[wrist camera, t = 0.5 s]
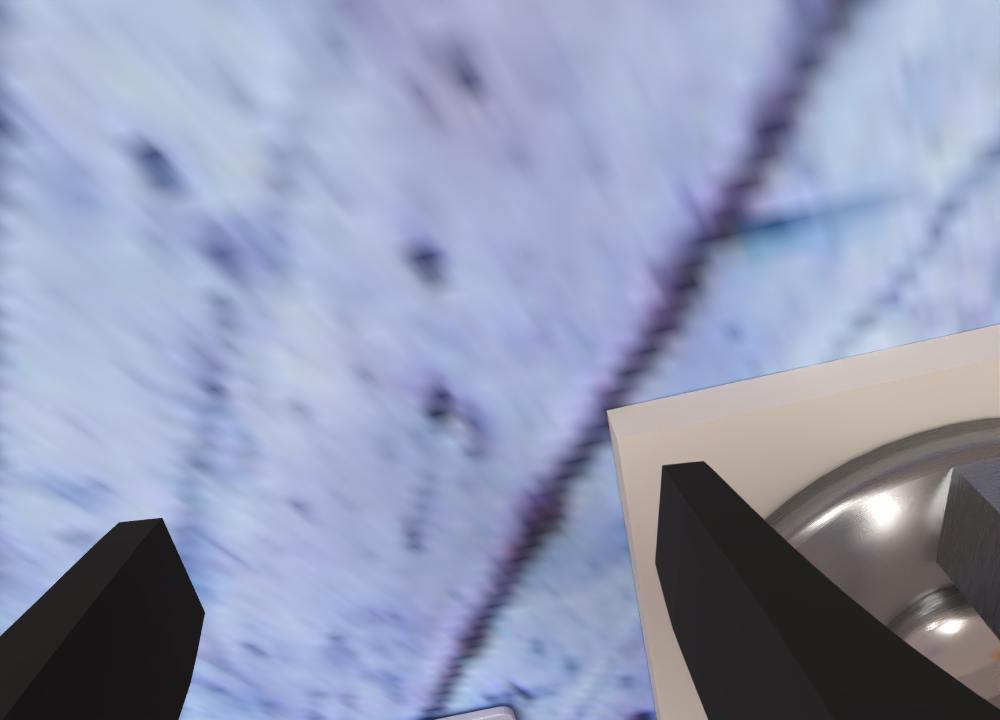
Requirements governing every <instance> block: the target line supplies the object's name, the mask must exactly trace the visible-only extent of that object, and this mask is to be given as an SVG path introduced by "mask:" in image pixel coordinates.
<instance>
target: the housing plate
mask: <svg viewBox="0 0 1000 720" xmlns="http://www.w3.org/2000/svg"><path fill="white" fill-rule="evenodd" d="M607 416H608V422H609V428H610V434H611V440H612V446H613V453H614V459H615V465H616V471H617V477H618V483H619V489H620V496H621V502H622V508H623V514H624V520H625V526H626V533H627V539H628V545H629V551H630V557H631V563H632V570H633V576H634V582H635V588H636V594H637V600H638V607H639V613H640V619H641V625H642V631H643V637H644V643H645V650H646V656H647V662H648V668H649V674H650V680H651V687H652V693H653V699H654V705H655V711H656V717H657V720H708V718H707V716H706V713H705V711H704V708H703V706H702V703H701V701H700V698H699V696H698V693H697V691H696V688H695V685H694V683H693V680H692V678H691V675H690V673H689V670H688V668H687V665H686V662H685V660H684V657H683V655H682V652H681V650H680V647H679V644H678V642H677V639H676V637H675V634H674V631H673V629H672V625H671V621H670V618H669V614H668V611H667V607H666V603H665V600H664V596H663V592H662V588H661V584H660V581H659V577H658V573H657V569H656V565H655V556H656V542H657V528H658V515H659V501H660V488H661V474H662V465H669V464H679V463H688V462H698V461H704V462H705V463H707V464H708V465H709V466H710V467H711V468H712V469H713V470H714V471H715V472H716V473H717V474H718V475H719V476H720V477H721V478H722V479H723V480H724V481H725V482H726V483H727V484H728V485H729V486H730V487H731V488H732V489H733V490H734V491H735V492H736V493H737V494H738V495H739V496H740V497H741V498H743V499H744V500H745V501H746V502H747V503H748V504H749V505H750V506H751V507H752V508H753V509H754V510H755V511H756V512H757V513H758V514H759V515H760V516H761V517H762V518H763V519H764V520H765V519H766V518H767V517H768V516H770V515H771V514H772V513H773V512H774V511H776V510H777V509H778V508H779V507H780V506H782V505H783V504H784V503H785V502H786V501H788V500H789V499H790V498H791V497H793V496H794V495H795V494H797V493H798V492H800V491H801V490H803V489H804V488H806V487H807V486H809V485H810V484H811V483H813V482H814V481H816V480H817V479H819V478H820V477H822V476H824V475H826V474H827V473H829V472H831V471H833V470H835V469H836V468H838V467H840V466H842V465H843V464H845V463H847V462H849V461H851V460H853V459H855V458H857V457H859V456H862V455H864V454H866V453H868V452H870V451H872V450H875V449H877V448H879V447H881V446H883V445H886V444H889V443H892V442H895V441H897V440H900V439H903V438H906V437H909V436H911V435H914V434H917V433H921V432H924V431H928V430H932V429H936V428H940V427H943V426H947V425H951V424H956V423H962V422H968V421H974V420H980V419H987V418H1000V324H998V325H994V326H989V327H985V328H980V329H976V330H971V331H966V332H962V333H957V334H953V335H948V336H944V337H939V338H935V339H930V340H926V341H921V342H916V343H912V344H907V345H903V346H898V347H894V348H889V349H885V350H880V351H875V352H871V353H866V354H862V355H857V356H853V357H848V358H844V359H839V360H835V361H830V362H825V363H821V364H816V365H812V366H807V367H803V368H798V369H794V370H789V371H784V372H780V373H775V374H771V375H766V376H762V377H757V378H753V379H748V380H744V381H739V382H734V383H730V384H725V385H721V386H716V387H712V388H707V389H703V390H698V391H693V392H689V393H684V394H680V395H675V396H671V397H666V398H662V399H657V400H653V401H648V402H643V403H639V404H634V405H630V406H625V407H621V408H616V409H612V410H607Z"/></svg>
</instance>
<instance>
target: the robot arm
mask: <svg viewBox="0 0 1000 720" xmlns="http://www.w3.org/2000/svg"><path fill="white" fill-rule="evenodd" d="M655 565H656V569H657V573H658V577H659V581H660V584H661V588H662V592H663V596H664V600H665V603H666V607H667V611H668V614H669V618H670V621H671V625H672V629H673V631H674V634H675V637H676V639H677V642H678V644H679V647H680V650H681V652H682V655H683V657H684V660H685V662H686V665H687V668H688V670H689V673H690V675H691V678H692V680H693V683H694V685H695V688H696V691H697V693H698V696H699V698H700V701H701V703H702V706H703V708H704V711H705V713H706V716H707V718H708V720H1000V709H999V708H997V707H996V706H994V705H993V704H991V703H990V702H988V701H987V700H985V699H984V698H982V697H981V696H979V695H978V694H976V693H975V692H974V691H972V690H971V689H969V688H968V687H967V686H965V685H964V684H962V683H961V682H960V681H958V680H957V679H956V678H954V677H953V676H951V675H950V674H949V673H947V672H946V671H944V670H943V669H942V668H940V667H939V666H938V665H936V664H935V663H933V662H932V661H931V660H929V659H928V658H926V657H925V656H924V655H922V654H921V653H920V652H918V651H917V650H916V649H914V648H913V647H912V646H910V645H909V644H908V643H907V642H905V641H904V640H903V639H901V638H900V637H899V636H898V635H896V634H895V633H894V632H893V631H891V630H890V629H889V628H887V627H886V626H885V625H884V624H882V623H881V622H880V621H879V620H878V619H876V618H875V617H874V616H873V615H871V614H870V613H869V612H868V611H867V610H865V609H864V608H863V607H862V606H861V605H859V604H858V603H857V602H856V601H854V600H853V599H852V598H851V597H850V596H848V595H847V594H846V593H845V592H844V591H843V590H841V589H840V588H839V587H838V586H837V585H836V584H834V583H833V582H832V581H831V580H830V579H829V578H827V577H826V576H825V575H824V574H823V573H822V572H821V571H820V570H819V569H817V568H816V567H815V566H814V565H813V564H812V563H811V562H810V561H809V560H807V559H806V558H805V557H804V556H803V555H802V554H801V553H800V552H798V551H797V550H796V549H795V548H794V547H793V546H792V545H791V544H790V543H789V542H787V541H786V540H785V539H784V538H783V537H782V536H781V535H780V534H779V533H778V532H777V531H776V530H775V529H774V528H773V527H771V526H770V525H769V524H768V523H767V522H766V521H765V520H764V519H763V518H762V517H761V516H760V515H759V514H758V513H757V512H756V511H755V510H754V509H753V508H752V507H751V506H750V505H749V504H748V503H747V502H746V501H745V500H744V499H743V498H741V497H740V496H739V495H738V494H737V493H736V492H735V491H734V490H733V489H732V488H731V487H730V486H729V485H728V484H727V483H726V482H725V481H724V480H723V479H722V478H721V477H720V476H719V475H718V474H717V473H716V472H715V471H714V470H713V469H712V468H711V467H710V466H709V465H708V464H707V463H705V462H704V461H698V462H688V463H679V464H669V465H662V474H661V488H660V501H659V515H658V528H657V542H656V556H655ZM204 615H205V612H204V609H203V607H202V605H201V603H200V601H199V598H198V596H197V594H196V592H195V589H194V587H193V585H192V583H191V581H190V578H189V576H188V574H187V572H186V570H185V567H184V565H183V563H182V561H181V558H180V556H179V554H178V552H177V550H176V547H175V545H174V543H173V541H172V539H171V536H170V534H169V532H168V530H167V527H166V525H165V523H164V521H163V519H162V518H157V519H147V520H138V521H128V522H119V523H118V524H117V525H116V526H115V527H114V528H112V529H111V530H110V531H109V532H108V533H107V534H106V535H105V536H104V537H103V538H101V539H100V540H99V541H98V542H97V543H96V544H95V545H94V546H93V547H92V548H91V549H90V550H89V551H88V552H87V553H86V554H85V555H84V556H83V557H82V558H81V559H80V560H79V561H78V562H76V563H75V564H74V565H73V566H72V567H71V568H70V569H69V570H68V571H67V572H66V573H65V574H64V575H63V576H62V577H61V578H60V579H59V580H58V581H57V582H56V583H55V584H54V585H53V586H52V587H51V588H50V589H49V590H48V591H47V592H46V593H45V594H44V595H43V596H42V597H41V598H40V599H39V600H38V601H37V602H36V603H34V604H33V605H32V606H31V607H30V608H29V609H28V610H27V611H26V612H25V613H24V614H23V615H22V616H21V617H20V618H19V619H18V620H17V621H16V622H15V623H14V624H13V625H12V626H11V627H10V628H8V629H7V630H6V631H5V632H4V633H3V634H2V635H1V636H0V720H178V719H179V716H180V713H181V710H182V707H183V704H184V701H185V698H186V695H187V692H188V689H189V686H190V683H191V678H192V674H193V669H194V665H195V660H196V656H197V651H198V646H199V641H200V636H201V630H202V625H203V620H204ZM435 720H516V718H515V715H514V712H513V710H512V709H511V708H509V707H506V706H499V707H494V708H489V709H484V710H479V711H474V712H469V713H464V714H460V715H455V716H450V717H445V718H440V719H435Z"/></svg>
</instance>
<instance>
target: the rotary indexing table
mask: <svg viewBox="0 0 1000 720" xmlns="http://www.w3.org/2000/svg"><path fill="white" fill-rule="evenodd" d="M765 521H766V522H767V523H768V524H769V525H770V526H771V527H773V528H774V529H775V530H776V531H777V532H778V533H779V534H780V535H781V536H782V537H783V538H784V539H785V540H786V541H787V542H789V543H790V544H791V545H792V546H793V547H794V548H795V549H796V550H797V551H798V552H800V553H801V554H802V555H803V556H804V557H805V558H806V559H807V560H809V561H810V562H811V563H812V564H813V565H814V566H815V567H816V568H817V569H819V570H820V571H821V572H822V573H823V574H824V575H825V576H826V577H827V578H829V579H830V580H831V581H832V582H833V583H834V584H836V585H837V586H838V587H839V588H840V589H841V590H843V591H844V592H845V593H846V594H847V595H848V596H850V597H851V598H852V599H853V600H854V601H856V602H857V603H858V604H859V605H861V606H862V607H863V608H864V609H865V610H867V611H868V612H869V613H870V614H871V615H873V616H874V617H875V618H876V619H878V620H879V621H880V622H881V623H882V624H884V625H885V626H886V627H887V628H889V629H890V630H891V631H893V632H894V633H895V634H896V635H898V636H899V637H900V638H901V639H903V640H904V641H905V642H907V643H908V644H909V645H910V646H912V647H913V648H914V649H916V650H917V651H918V652H920V653H921V654H922V655H924V656H925V657H926V658H928V659H929V660H931V661H932V662H933V663H935V664H936V665H938V666H939V667H940V668H942V669H943V670H944V671H946V672H947V673H949V674H950V675H951V676H953V677H954V678H956V679H957V680H958V681H960V682H961V683H962V684H964V685H965V686H967V687H968V688H969V689H971V690H972V691H974V692H975V693H976V694H978V695H979V696H981V697H982V698H984V699H985V700H987V701H988V702H990V703H991V704H993V705H994V706H996V707H997V708H999V709H1000V418H987V419H980V420H974V421H968V422H962V423H956V424H951V425H947V426H943V427H940V428H936V429H932V430H928V431H924V432H921V433H917V434H914V435H911V436H909V437H906V438H903V439H900V440H897V441H895V442H892V443H889V444H886V445H883V446H881V447H879V448H877V449H875V450H872V451H870V452H868V453H866V454H864V455H862V456H859V457H857V458H855V459H853V460H851V461H849V462H847V463H845V464H843V465H842V466H840V467H838V468H836V469H835V470H833V471H831V472H829V473H827V474H826V475H824V476H822V477H820V478H819V479H817V480H816V481H814V482H813V483H811V484H810V485H809V486H807V487H806V488H804V489H803V490H801V491H800V492H798V493H797V494H795V495H794V496H793V497H791V498H790V499H789V500H788V501H786V502H785V503H784V504H783V505H782V506H780V507H779V508H778V509H777V510H776V511H774V512H773V513H772V514H771V515H770V516H768V517H767V518H766V519H765Z"/></svg>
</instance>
